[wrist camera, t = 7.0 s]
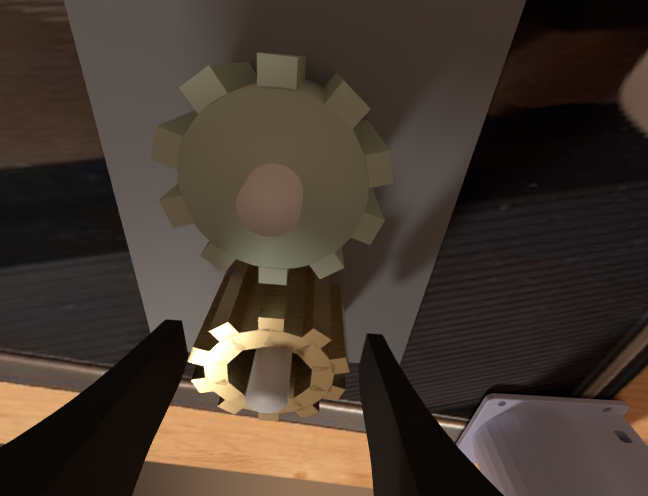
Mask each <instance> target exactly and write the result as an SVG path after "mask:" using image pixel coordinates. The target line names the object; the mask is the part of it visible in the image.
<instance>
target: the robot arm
mask: <svg viewBox="0 0 648 496" xmlns="http://www.w3.org/2000/svg"><path fill="white" fill-rule="evenodd" d="M187 360H188V350H187V345H186V339H185V334H184V328H183V323H182V320H169V319H166V320H164V321H163V322H162V323H161V324H160V325H159V326H158V327H157V328H156V329H154V330H153V331H152V332H151V333H150V334H149V335H148V336H147V337H146V338H145V339H144V340H143V341H142V342H141V343H139V344H138V345H137V346H136V347H135V348H134V349H133V350H132V351H131V352H130V353H128V354H127V355H126V356H125V357H124V358H123V359H122V360H120V361H119V362H118V363H117V364H116V365H115V366H114V367H112V368H111V369H110V370H109V371H108V372H106V373H105V374H104V375H103V376H102V377H100V378H99V379H98V380H97V381H95V382H94V383H93V384H92V385H91V386H89V387H88V388H87V389H85V390H84V391H83V392H82V393H80V394H79V395H78V396H76V397H75V398H74V399H72V400H71V401H69V402H68V403H67V404H65V405H64V406H63V407H61V408H60V409H58V410H57V411H56V412H54V413H53V414H51V415H50V416H48V417H47V418H45V419H44V420H42V421H41V422H39V423H38V424H36V425H35V426H33V427H32V428H30V429H29V430H27V431H26V432H24V433H23V434H21V435H19V436H18V437H16V438H15V439H13V440H12V441H10V442H8V443H7V444H5V445H3V446H2V447H0V496H132V494H133V491H134V488H135V485H136V483H137V480H138V477H139V474H140V472H141V469H142V466H143V463H144V461H145V458H146V455H147V453H148V451H149V448H150V446H151V444H152V441H153V439H154V437H155V435H156V433H157V431H158V428H159V426H160V424H161V422H162V420H163V418H164V416H165V414H166V411H167V409H168V407H169V405H170V403H171V401H172V399H173V396H174V394H175V392H176V390H177V388H178V386H179V383H180V381H181V378H182V375H183V372H184V369H185V366H186V363H187ZM359 385H360V396H361V402H362V408H363V415H364V421H365V427H366V433H367V439H368V445H369V451H370V458H371V466H372V479H373V491H374V496H648V446H647V445H646V443H645V442H644V441H643V440H642V439H641V437H640V436H639V435H638V434H637V433H636V431H635V430H634V429H633V428H632V427H631V425H630V424H629V423H628V422H627V421H626V419H625V418H624V417H623V416H624V415H625V414H626V413H627V412H628V411H629V409H630V408H629V406H628V405H627V404H626V403H625V402H624V401H617V400H600V399H583V398H566V397H550V396H533V395H516V394H499V393H491V394H488V395H486V396H485V398H484V399H483V401H482V402H481V404H480V406H479V407H478V409H477V411H476V412H475V414H474V416H473V417H472V419H471V420H470V422H469V424H468V425H467V427H466V429H465V430H464V432H463V433H462V435H461V437H460V438H459V440H458V442H457V443H456V444H455V443H454V442H453V441H452V439H451V438H450V437H449V436H448V435H447V433H446V432H445V431H444V430H443V428H442V427H441V426H440V425H439V423H438V422H437V421H436V419H435V418H434V417H433V415H432V414H431V413H430V411H429V410H428V409H427V407H426V406H425V404H424V403H423V401H422V400H421V399H420V397H419V396H418V394H417V393H416V391H415V390H414V388H413V387H412V385H411V383H410V382H409V380H408V379H407V377H406V375H405V374H404V372H403V371H402V369H401V367H400V365H399V364H398V362H397V360H396V358H395V357H394V355H393V353H392V351H391V349H390V347H389V345H388V344H387V342H386V340H385V338H384V336H383V335H382V334H371V333H367V335H366V339H365V343H364V347H363V351H362V355H361V359H360V363H359ZM473 463H477V464H478V466H479V469H480V471H481V472H480V471H479V470H478V468H477V467H476V466H475V465H474V464H473Z"/></svg>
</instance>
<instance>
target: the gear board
mask: <svg viewBox="0 0 648 496" xmlns="http://www.w3.org/2000/svg"><path fill="white" fill-rule="evenodd" d="M525 2H526V0H64V3H65V7H66V10H67V14H68V18H69V22H70V26H71V30H72V33H73V37H74V41H75V45H76V49H77V53H78V56H79V60H80V64H81V68H82V72H83V75H84V79H85V83H86V87H87V91H88V95H89V98H90V102H91V106H92V110H93V114H94V118H95V121H96V125H97V129H98V133H99V137H100V140H101V144H102V148H103V152H104V156H105V160H106V163H107V167H108V171H109V175H110V179H111V183H112V186H113V190H114V194H115V198H116V202H117V205H118V209H119V213H120V217H121V221H122V225H123V228H124V232H125V236H126V240H127V244H128V248H129V251H130V255H131V259H132V263H133V267H134V270H135V274H136V278H137V282H138V286H139V290H140V293H141V297H142V301H143V305H144V309H145V313H146V316H147V320H148V324H149V328H150V332H152V331H153V330H154V329H156V328H157V327H158V326H159V325H160V324H161V323H162V322H163V321H164V320H166V319H169V320H182V323H183V328H184V334H185V339H186V345H187V350H188V352H191V350H192V347H193V345H194V343H195V341H196V338H197V336H198V334H199V332H200V329H201V327H202V325H203V323H204V320H205V318H206V316H207V314H208V311H209V309H210V307H211V305H212V302H213V300H214V298H215V296H216V293H217V291H218V289H219V287H220V284H221V282H222V280H223V278H224V276H227V277H230V278H231V275H232V273H233V270H234V268H235V266H236V263H237V261H239V260H240V261H242V262H245V263H248V264H251V265H255V266H259V283H264V284H277V285H286V284H287V278H288V271H289V269H290V268H298V267H303V266H305V267H308V266H309V265H310V267H311V268H312V269H313V271H314V272H315V273H316V275H317V276H318V277H319V279H322V278H324V277H326V276H328V275H329V277H330V287H332V286H338V285H340V287H341V291H342V296H343V303H344V314H345V326H346V337H347V349H348V360H349V362H354V363H360V359H361V355H362V351H363V347H364V343H365V339H366V335H367V333H371V334H382V335H383V336H384V338H385V340H386V342H387V344H388V345H389V347H390V349H391V351H392V353H393V355H394V357H395V358H396V360H397V362H398V364H399V365H400V362H401V359H402V356H403V353H404V350H405V348H406V345H407V342H408V339H409V336H410V333H411V330H412V327H413V325H414V322H415V319H416V316H417V313H418V310H419V307H420V304H421V301H422V299H423V296H424V293H425V290H426V287H427V284H428V281H429V278H430V276H431V273H432V270H433V267H434V264H435V261H436V258H437V255H438V253H439V250H440V247H441V244H442V241H443V238H444V235H445V232H446V230H447V227H448V224H449V221H450V218H451V215H452V212H453V209H454V207H455V204H456V201H457V198H458V195H459V192H460V189H461V186H462V183H463V181H464V178H465V175H466V172H467V169H468V166H469V163H470V160H471V158H472V155H473V152H474V149H475V146H476V143H477V140H478V137H479V135H480V132H481V129H482V126H483V123H484V120H485V117H486V114H487V112H488V109H489V106H490V103H491V100H492V97H493V94H494V91H495V89H496V86H497V83H498V80H499V77H500V74H501V71H502V68H503V65H504V63H505V60H506V57H507V54H508V51H509V48H510V45H511V42H512V40H513V37H514V34H515V31H516V28H517V25H518V22H519V19H520V17H521V14H522V11H523V8H524V5H525ZM291 362H292V352H289V351H286V350H282V349H279V348H275V347H272V346H268V347H261V348H256V353H255V357H254V361H253V366H252V370H251V375H250V379H249V384H248V388H247V393H246V397H245V402H246V404H247V406H248V407H249V408H251V409H252V410H254V411H257V412H260V413H276V412H279V411H281V410H283V409H284V408H285V407H286V406H287V402H288V392H289V382H290V372H291Z"/></svg>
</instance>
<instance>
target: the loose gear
mask: <svg viewBox="0 0 648 496" xmlns="http://www.w3.org/2000/svg"><path fill="white" fill-rule="evenodd" d="M268 346H272V347H275V348H279V349H282V350H286V351H289V352H292V362H291V372H290V382H289V392H288V402H287V406H286V407H285V408H284V409H283V410H281V411H279V412H276V413H260V412H259V420H269V421H278V420H279V413H284V412H292V411H295V412H296V413H297V414H298V415H299V416H300V417H302V418H304V417H307V416H310V415H313V414H316V413H318V412H319V400H320V399H322V398H327V399H331V400H334V401H337V400H338V398H339V397H340V396H341V395H342V393H343V392H344V391H345V389H346V388H345V374H344V373H347V372H350V371H349V360H348V349H347V337H346V326H345V314H344V303H343V296H342V291H341V287H340V285H338V286H332V287H330V277H329V275H328V276H326V277H324V278H322V279H319V277H318V276H317V275H316V273H315V272H314V271H313V269H312V268H311V267H310V265H309V266H308V267H305V266H303V267H298V268H290V269H289V271H288V278H287V284H286V285H277V284H264V283H259V266H255V265H251V264H248V263H245V262H242V261H240V260H239V261H237V263H236V266H235V268H234V270H233V273H232V275H231V278H230V277H227V276H224V278H223V280H222V282H221V284H220V287H219V289H218V291H217V293H216V296H215V298H214V300H213V302H212V305H211V307H210V309H209V311H208V314H207V316H206V318H205V320H204V323H203V325H202V327H201V329H200V332H199V334H198V336H197V338H196V341H195V343H194V345H193V347H192V350H191V353H190V356H189V359H188V362H191V363H195V364H197V366H196V369H195V371H194V374H193V376H192V379H191V381H192V382H193V383H194V385H195V386H196V388H197V389H198V391H199V392H200V393H204V392H211V391H215V392H216V393H217V394H218V395H220V399H219V403H218V406H217V407H220V408H222V409H224V410H226V411H228V412H231V413H233V414H236V413H237V412H238V411H240V410H241V409H242V408H244V409H248V410H252V409H251V408H249V407H248V406H247V404H246V402H245V397H246V393H247V388H248V384H249V379H250V375H251V370H252V366H253V361H254V357H255V353H256V348H261V347H268ZM252 411H254V410H252Z"/></svg>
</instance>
